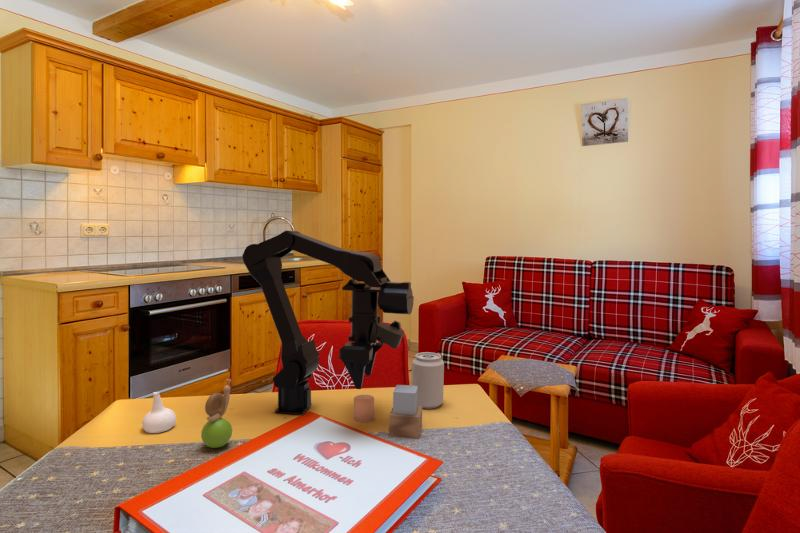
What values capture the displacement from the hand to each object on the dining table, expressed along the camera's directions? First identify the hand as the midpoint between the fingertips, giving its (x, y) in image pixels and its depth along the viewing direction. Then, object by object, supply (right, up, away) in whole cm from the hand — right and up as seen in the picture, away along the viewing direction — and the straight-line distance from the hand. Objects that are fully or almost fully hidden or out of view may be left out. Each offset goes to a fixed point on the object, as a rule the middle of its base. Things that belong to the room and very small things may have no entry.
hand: (363, 381), depth 102 cm
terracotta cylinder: (0, -8, +1) cm, 8 cm away
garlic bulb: (-41, -8, -6) cm, 43 cm away
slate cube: (+9, -4, -6) cm, 12 cm away
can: (+15, -8, +9) cm, 19 cm away
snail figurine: (-26, -9, -14) cm, 31 cm away
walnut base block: (+9, -9, -6) cm, 14 cm away
